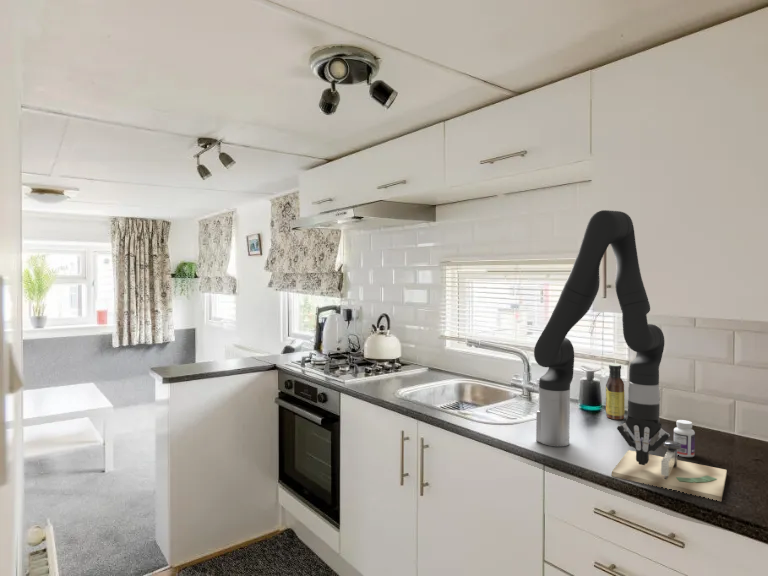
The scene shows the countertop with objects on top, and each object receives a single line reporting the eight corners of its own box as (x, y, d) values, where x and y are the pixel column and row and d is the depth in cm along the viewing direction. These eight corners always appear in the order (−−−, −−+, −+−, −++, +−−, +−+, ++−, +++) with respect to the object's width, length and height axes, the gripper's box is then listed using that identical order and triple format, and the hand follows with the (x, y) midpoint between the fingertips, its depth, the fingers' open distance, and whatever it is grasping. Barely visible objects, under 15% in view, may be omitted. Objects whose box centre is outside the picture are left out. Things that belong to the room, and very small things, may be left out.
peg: (664, 461, 138) (665, 439, 138) (681, 464, 136) (681, 442, 135) (655, 477, 127) (656, 454, 127) (673, 481, 125) (674, 457, 124)
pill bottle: (686, 450, 150) (687, 418, 150) (698, 457, 145) (699, 424, 145) (669, 451, 150) (669, 419, 150) (680, 457, 145) (681, 424, 144)
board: (611, 476, 132) (611, 470, 131) (628, 454, 147) (628, 449, 147) (721, 501, 117) (721, 495, 117) (726, 474, 133) (726, 469, 133)
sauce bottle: (612, 414, 188) (613, 362, 188) (628, 418, 183) (628, 364, 183) (601, 417, 185) (602, 363, 184) (617, 421, 180) (618, 366, 179)
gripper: (613, 398, 134) (612, 462, 134) (669, 406, 126) (668, 474, 126) (619, 393, 140) (619, 454, 140) (674, 400, 132) (672, 465, 132)
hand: (642, 463), depth 133 cm, fingers closed
